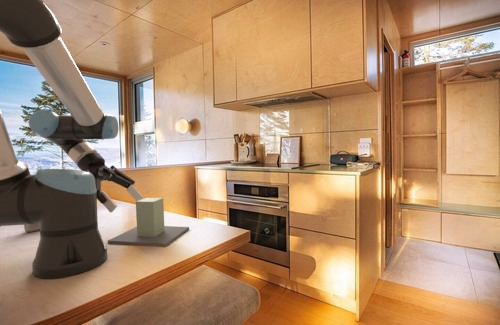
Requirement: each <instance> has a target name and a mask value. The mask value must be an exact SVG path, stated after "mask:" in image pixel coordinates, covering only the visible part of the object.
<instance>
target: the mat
mask: <svg viewBox="0 0 500 325" xmlns="http://www.w3.org/2000/svg"><path fill="white" fill-rule="evenodd" d="M188 229H189V230H190V227H189V226H173V225H170V226H169V225H164V230H165V231H164V232H162V233H160V234H159V235H157V236H155V237H145V236H137V226H135V227H132V228H131V229H129V230H127V231H125V232H123V233H120V234H119V235H117V236H115V237H112V238H110V239H109V240H107V244H116V245H117V244H118V245H136V246H149V247H150V246H151V247H153V246H154V247H156V246H157V247H167V246H169V245H170V244H171V243H173V242H174V241H176V240H177V239H178V238H179V237H181V236H182V235H184V234H185V233H186V232H188V231H189V230H188ZM187 230H188V231H187ZM184 232H185V233H184ZM183 233H184V234H183Z"/></svg>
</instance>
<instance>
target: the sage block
mask: <svg viewBox="0 0 500 325" xmlns="http://www.w3.org/2000/svg"><path fill="white" fill-rule="evenodd" d="M164 205H165V204H164V197H146V198H145V197H144V199H142V200H139V201H136V200H135V215H136V216H135V217H136V227H137V236H145V237H155V236H157V235H159V234H160V233H162V232H164V231H165V230H164V226H165V212H164V211H165V207H164Z"/></svg>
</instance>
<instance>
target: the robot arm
mask: <svg viewBox="0 0 500 325" xmlns="http://www.w3.org/2000/svg"><path fill="white" fill-rule="evenodd" d="M0 32H1V33H2V34H4V35H5V37H6V38H7V39H8V41H9V42H10V43H11V44H12V46H15V47H17V48H20V49H22V50H23V52H24V53H25V54H26V56H27V57H28V59H29V60H30V61H31V63H32V64H33V65H34V66H35V68H36V70H37V71H38V72H39V74H41V76H42V77H43V79H44V80H45V82H46V83H47V84H48V85H49V88H51V90H52V91H53V92H54V94H55V95H56V96H57V98H58V99H59V101H60V102H61V103H62V104H63V106H64V107H65V108H66V110H67V111H68V112H69V114H57V113H56V112H54V111H52V110H49V109H44V108H43V109H39V110H36V111H34V112H33V113H32V114H31V115H30V117H29V119H28V127H29V128H30V130H31V131H33V132H34V133H35V134H37V135H38V136H39V137H42V138H43V139H45V140H48V142H51V143H53V144H55V145H57V146H59V148H61V149H62V151H64V153H65V154H66V155H67V157H69V158H70V159H71V161H73V162H74V164H75V165H76V166H77V167H78V169H72V168H71V169H69V168H44V169H39V170H37V171H36V173H35V174H33V175H32V174H31V172H30V169H29V166H28V164H27V163H26V162H23V161H22V160H19V159H18V158H17V156H16V154H15V153H16V152H15V150H14V147H13V144H12V141H11V137H10V135H9V132H8V129H7V126H6V122H5V120H4V117H3V113H2V111H1V109H0V227H6V226H7V227H10V226H24V225H28V224H39V225H40V231H39V236H40V238H39V242H38V246H37V249H36V254H35V257H34V259H33V261H32V263H31V268H32V275H33V276H34V277H36V278H39V279H57V278H58V279H59V278H65V277H71V276H74V275H78V274H81V273H85V272H87V271H90V270H93V269H94V268H96V267H98V266H100V265H102V264H103V263H105V262H106V261H107V259H108V249H107V246H106V245H105V244H104V241H103V239H102V238H103V237H102V235H101V233H100V230H99V222H98V202H100V204H102V205H103V206H104V207H105V209H107V211H108V212H109V214H111V213H113V212H114V211H115V210H116V209H117V207H118V205H117V204H116V202H114V201H113V200H112V198H111V197H110V196H109V195H108V194H107V193H106V192H105V190H101V188H102V181H107V182H112V183H114V184H117V185H118V186H120V187H123V188H125V189H126V192H128V194H129V195H130V196H131V197H132V198H133V199H134V200H135V202H136V201H139V200H142V199H145V197H144V196H143V195H142V193H141V192H140V191H139V190H138V189H137V188H136V187H135V186H134V185H135V183H136V181H135V180H134V179H132V178H131V177H130V176H128V175H127V174H126V173H123V172H122V171H120V170H119V169H118V168H117V167H115V166H114V165H111V166H110V167H108V166H107V165H105V164H106V161H105V158H104V157H103V156H102V155H101V154H100V153H99V152H98V151H97V150H96V148H95V147H94V146H93V145H92V144H91V143H90V142H89V141H88V140H102V141H103V140H104V141H105V140H110V139H111V140H113V139H115V138H117V136H118V134H119V121H118V119H117V117H116V116H115V115H112V114H108V113H106V114H104V112H103V110H102V109H101V107H100V105H99V103H98V101H97V100H96V97H95V96H94V94H93V93H92V90H91V89H90V88H89V85H88V84H87V81H86V80H85V78H84V76H83V75H82V73H81V71H80V70H79V68H78V66H77V65H76V63H75V61H74V59H73V57H72V56H71V54H70V51H69V50H68V49H67V47H66V45H65V43H64V41H63V40H62V38H61V35H62V33H63V30H62V27H61V25H60V23H59V21H58V20H57V18H56V17H55V14H54V13H53V12H52V11H51V9H50V8H49V7H48V5H47V4H46V2H45V1H44V0H0ZM97 201H98V202H97Z"/></svg>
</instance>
